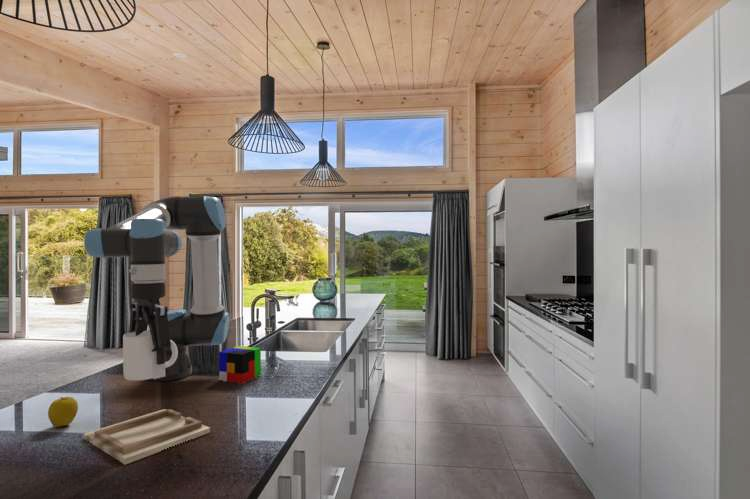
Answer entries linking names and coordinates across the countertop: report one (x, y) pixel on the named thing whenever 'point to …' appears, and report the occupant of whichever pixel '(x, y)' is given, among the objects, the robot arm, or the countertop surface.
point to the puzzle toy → (239, 364)
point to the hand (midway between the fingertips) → (149, 374)
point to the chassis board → (146, 435)
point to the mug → (141, 356)
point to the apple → (62, 411)
